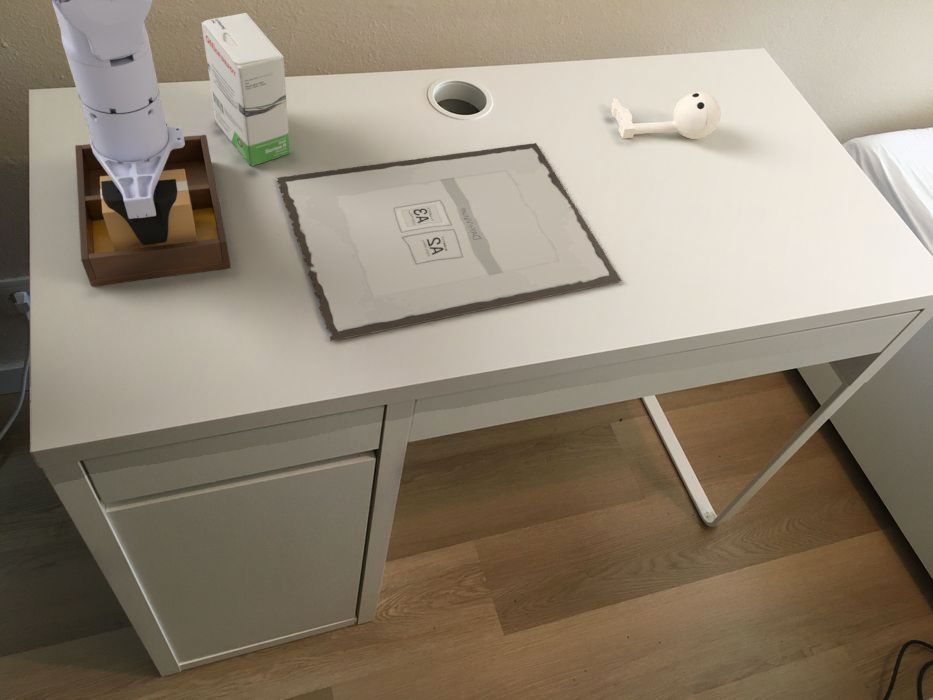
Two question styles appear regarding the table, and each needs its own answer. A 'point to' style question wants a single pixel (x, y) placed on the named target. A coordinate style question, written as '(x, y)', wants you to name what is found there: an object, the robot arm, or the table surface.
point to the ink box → (247, 87)
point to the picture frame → (439, 237)
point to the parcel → (178, 223)
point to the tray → (156, 259)
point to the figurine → (675, 118)
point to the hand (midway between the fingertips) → (151, 220)
